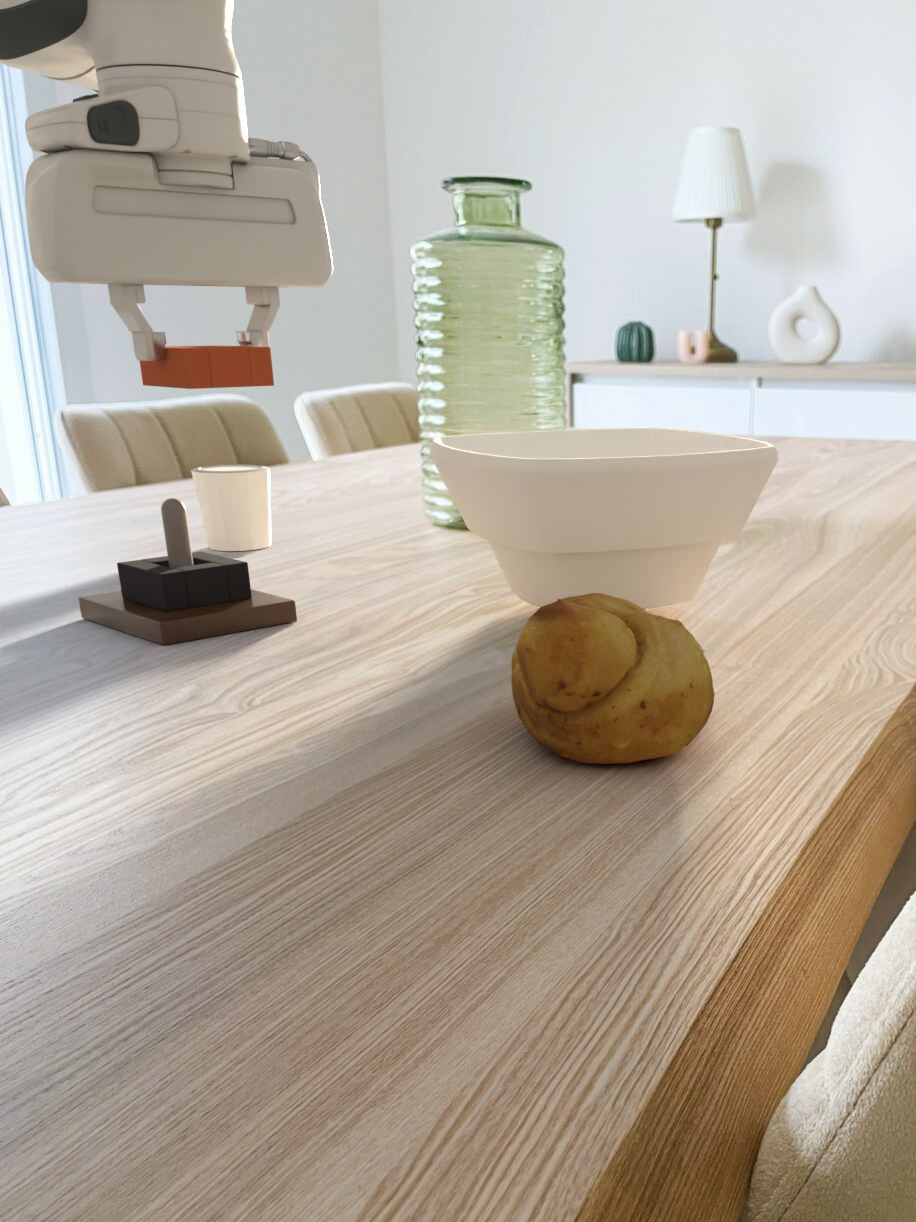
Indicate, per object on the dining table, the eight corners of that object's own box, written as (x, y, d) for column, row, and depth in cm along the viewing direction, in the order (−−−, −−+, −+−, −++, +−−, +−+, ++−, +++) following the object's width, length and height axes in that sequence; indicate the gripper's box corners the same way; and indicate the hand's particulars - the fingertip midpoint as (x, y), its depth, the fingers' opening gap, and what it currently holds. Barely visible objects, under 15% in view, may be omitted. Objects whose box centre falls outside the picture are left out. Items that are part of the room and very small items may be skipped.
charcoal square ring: (122, 598, 91) (116, 562, 90) (206, 586, 95) (201, 551, 94) (166, 612, 87) (160, 574, 86) (252, 598, 91) (247, 562, 90)
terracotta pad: (142, 385, 90) (137, 346, 89) (226, 382, 94) (222, 345, 93) (189, 389, 86) (184, 348, 85) (274, 385, 90) (270, 346, 89)
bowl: (409, 594, 99) (397, 435, 95) (664, 570, 109) (664, 424, 104) (517, 656, 81) (509, 464, 77) (812, 620, 91) (820, 447, 86)
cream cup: (219, 554, 116) (208, 473, 113) (189, 545, 121) (179, 467, 118) (290, 546, 120) (282, 468, 117) (259, 537, 125) (250, 462, 122)
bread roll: (497, 708, 71) (490, 559, 67) (671, 698, 73) (672, 552, 69) (529, 785, 59) (522, 609, 56) (734, 770, 61) (739, 599, 58)
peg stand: (81, 618, 92) (60, 497, 89) (210, 597, 98) (195, 484, 95) (163, 645, 84) (143, 514, 81) (297, 621, 91) (284, 499, 88)
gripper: (289, 147, 93) (309, 355, 98) (-3, 117, 79) (38, 361, 84) (340, 140, 89) (357, 357, 94) (41, 107, 75) (81, 364, 80)
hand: (204, 359), depth 89 cm, fingers closed on terracotta pad, 6 cm apart
